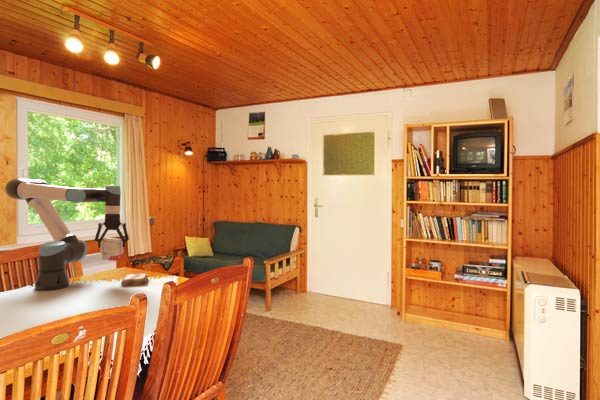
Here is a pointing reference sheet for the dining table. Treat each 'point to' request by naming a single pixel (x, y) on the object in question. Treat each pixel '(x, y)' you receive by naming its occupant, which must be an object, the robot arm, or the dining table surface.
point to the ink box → (111, 249)
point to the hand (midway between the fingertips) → (111, 253)
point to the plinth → (134, 279)
